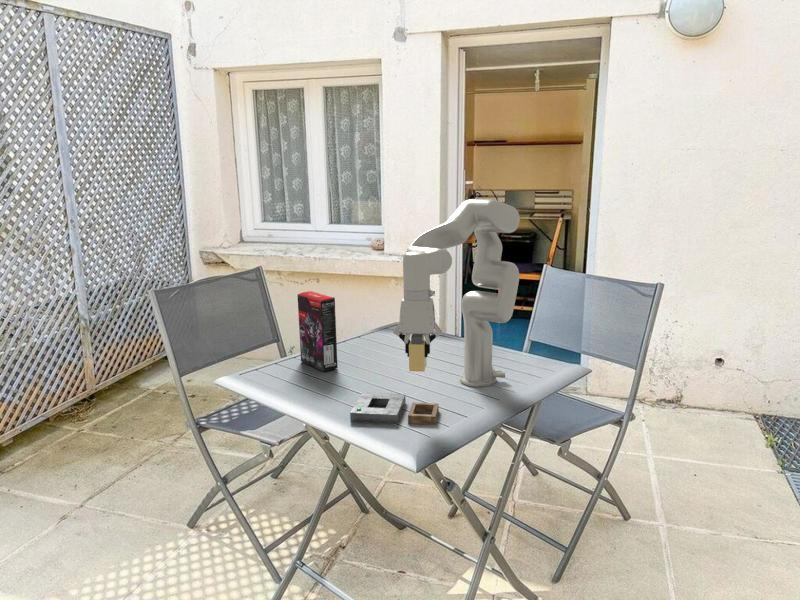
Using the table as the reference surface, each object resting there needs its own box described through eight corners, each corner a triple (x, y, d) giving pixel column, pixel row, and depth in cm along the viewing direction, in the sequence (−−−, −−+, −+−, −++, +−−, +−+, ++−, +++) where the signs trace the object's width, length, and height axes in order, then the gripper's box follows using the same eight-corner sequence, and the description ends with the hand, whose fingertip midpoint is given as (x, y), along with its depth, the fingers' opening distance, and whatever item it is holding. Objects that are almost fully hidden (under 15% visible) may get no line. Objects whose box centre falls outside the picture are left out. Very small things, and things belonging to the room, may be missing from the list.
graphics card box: (299, 362, 231) (295, 293, 225) (315, 358, 235) (311, 290, 229) (323, 373, 218) (320, 300, 212) (339, 368, 222) (336, 297, 216)
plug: (426, 364, 178) (426, 332, 176) (424, 371, 173) (423, 338, 170) (411, 364, 179) (411, 332, 177) (409, 371, 173) (408, 337, 171)
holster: (438, 411, 183) (438, 403, 182) (435, 424, 174) (435, 416, 173) (412, 410, 184) (412, 402, 184) (408, 423, 175) (407, 415, 174)
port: (405, 402, 190) (405, 392, 189) (397, 424, 174) (397, 413, 174) (362, 401, 192) (362, 391, 191) (350, 422, 177) (350, 411, 176)
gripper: (447, 292, 173) (447, 352, 177) (389, 291, 176) (391, 351, 180) (445, 298, 166) (445, 360, 170) (385, 297, 168) (387, 359, 173)
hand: (417, 355), depth 175 cm, fingers closed on plug, 4 cm apart
